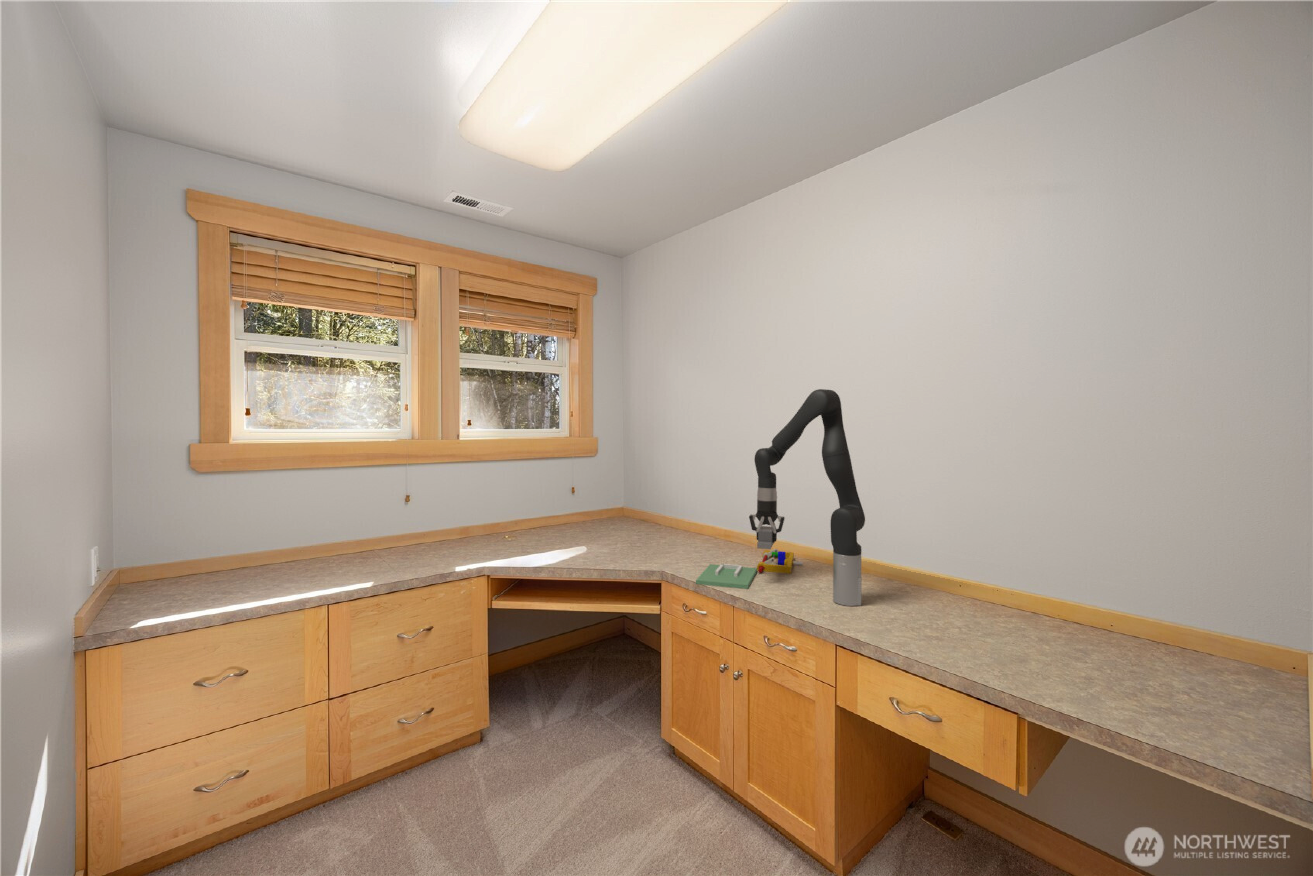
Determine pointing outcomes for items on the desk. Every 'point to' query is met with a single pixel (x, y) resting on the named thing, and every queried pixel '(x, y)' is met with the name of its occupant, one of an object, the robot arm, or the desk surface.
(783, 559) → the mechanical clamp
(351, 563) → the desk surface
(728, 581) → the green plate with u-rail
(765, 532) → the grey stepped block
